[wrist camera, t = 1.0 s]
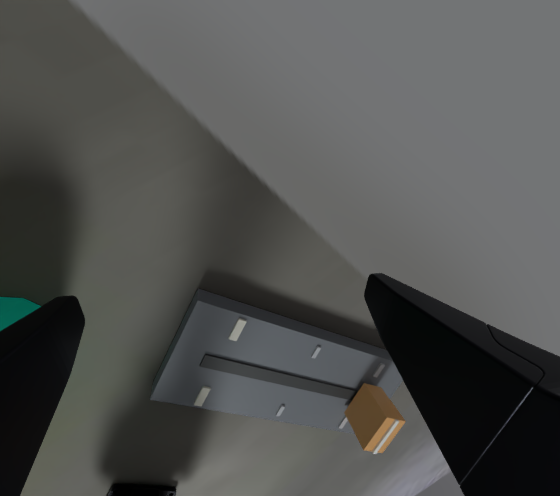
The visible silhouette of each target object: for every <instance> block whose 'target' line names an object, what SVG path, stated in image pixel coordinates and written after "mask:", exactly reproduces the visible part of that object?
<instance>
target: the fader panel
mask: <svg viewBox="0 0 560 496" xmlns="http://www.w3.org/2000/svg"><path fill="white" fill-rule="evenodd" d="M402 381H403V379H402V377H401V375H400V373H399V372H398V370H397V368H396V366H395V364H394V362H393V360H392V359H391V357H390V355H389V353H388V351H387V350H385V349H382V348H379V347H376V346H373V345H370V344H367V343H364V342H361V341H357V340H354V339H351V338H348V337H345V336H342V335H339V334H336V333H333V332H330V331H327V330H324V329H321V328H318V327H315V326H312V325H309V324H305V323H302V322H299V321H296V320H293V319H290V318H287V317H284V316H281V315H278V314H275V313H272V312H269V311H266V310H263V309H260V308H257V307H254V306H250V305H247V304H244V303H241V302H238V301H235V300H232V299H229V298H226V297H223V296H220V295H217V294H214V293H211V292H208V291H205V290H202V289H197V292H196V294H195V296H194V298H193V300H192V302H191V304H190V306H189V308H188V310H187V312H186V314H185V317H184V319H183V321H182V323H181V325H180V327H179V329H178V331H177V333H176V335H175V337H174V340H173V342H172V344H171V346H170V348H169V350H168V352H167V354H166V356H165V358H164V360H163V362H162V365H161V367H160V369H159V371H158V373H157V375H156V377H155V379H154V381H153V386H152V391H151V396H150V400H155V401H161V402H166V403H172V404H178V405H184V406H190V407H196V408H202V409H208V410H214V411H220V412H226V413H232V414H238V415H244V416H250V417H256V418H262V419H268V420H274V421H280V422H286V423H292V424H298V425H304V426H310V427H316V428H322V429H328V430H334V431H340V432H346V433H352V434H355V433H354V431H353V429H352V427H351V425H350V423H349V421H348V419H347V417H346V415H345V413H344V412H345V410H346V409H347V407H348V406H349V405H350V403H351V402H352V400H353V399H354V397H355V396H356V394H357V393H358V391H359V390H360V388H361V387H362V385H363V384H364V383H366V384H370V385H374V386H378V387H381V388H382V389H383V391H384V392H385V393H386V395H387V396H388V398H389V399H390V398H391V396H392V395H393V394H394V392H395V391H396V389H397V388H398V387H399V385H400V384H401V382H402Z"/></svg>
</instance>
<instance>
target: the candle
mask: <svg viewBox="0 0 560 496" xmlns="http://www.w3.org/2000/svg"><path fill="white" fill-rule="evenodd" d="M40 307H41V306H40V305H38V304H35V303H33V302H31V301H29V300H27V299H24V298H11V297H0V331H1V330H3V329H4V328H6V327H8V326H10V325H11V324H13V323H15V322H16V321H18V320H20V319H21V318H23V317H25V316H26V315H28V314H30V313H31V312H33V311H35V310H36V309H38V308H40Z"/></svg>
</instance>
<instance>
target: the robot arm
mask: <svg viewBox="0 0 560 496" xmlns="http://www.w3.org/2000/svg"><path fill="white" fill-rule="evenodd" d="M364 297H365V301H366V303H367V306H368V308H369V311H370V313H371V316H372V318H373V321H374V323H375V326H376V328H377V331H378V333H379V335H380V338H381V340H382V342H383V343H384V345H385V347H386V349H387V351H388V353H389V355H390V357H391V359H392V360H393V362H394V364H395V366H396V368H397V370H398V372H399V373H400V375H401V377H402V379H403V381H404V383H405V385H406V387H407V388H408V390H409V392H410V394H411V396H412V398H413V400H414V402H415V403H416V405H417V407H418V409H419V411H420V413H421V415H422V417H423V418H424V420H425V422H426V424H427V426H428V428H429V430H430V431H431V433H432V435H433V437H434V439H435V441H436V443H437V445H438V446H439V448H440V450H441V452H442V454H443V456H444V458H445V460H446V461H447V463H448V465H449V467H450V469H451V471H452V473H453V475H454V476H455V478H456V480H457V482H458V484H459V485H461V486H460V488H461V490H462V492H463V494H464V495H465V496H560V357H559V356H557V355H555V354H553V353H550V352H548V351H546V350H543V349H541V348H539V347H536V346H534V345H532V344H529V343H527V342H525V341H523V340H520V339H518V338H516V337H514V336H512V335H510V334H508V333H505V332H503V331H501V330H499V329H497V328H495V327H493V326H490V325H489V324H487V325H486V323H484V322H482V321H480V320H478V319H476V318H474V317H472V316H470V315H468V314H466V313H464V312H462V311H459V310H457V309H455V308H453V307H451V306H449V305H447V304H445V303H443V302H441V301H439V300H437V299H434V298H433V297H430V296H428V295H426V294H424V293H422V292H420V291H418V290H416V289H414V288H412V287H410V286H407V285H406V284H403V283H401V282H399V281H397V280H395V279H393V278H391V277H389V276H387V275H385V274H382V273H375V274H371V275H369V277H368V281H367V285H366V289H365V293H364ZM84 326H85V318H84V315H83V312H82V309H81V306H80V304H79V301H78V299H77V297H75V296H60V297H57V298H55V299H53V300H52V301H50V302H48V303H47V304H45V305H43V306H41V307H40V308H38V309H36V310H35V311H33V312H31V313H30V314H28V315H26V316H25V317H23V318H21V319H20V320H18V321H16V322H15V323H13V324H11V325H10V326H8V327H6V328H4V329H3V330H1V331H0V496H20V494H21V492H22V489H23V487H24V485H25V482H26V480H27V477H28V475H29V473H30V470H31V468H32V466H33V463H34V461H35V458H36V456H37V454H38V451H39V449H40V446H41V444H42V442H43V439H44V437H45V434H46V432H47V430H48V427H49V425H50V423H51V420H52V418H53V415H54V413H55V411H56V408H57V406H58V403H59V401H60V399H61V396H62V394H63V391H64V389H65V387H66V384H67V382H68V379H69V377H70V374H71V371H72V368H73V364H74V361H75V357H76V354H77V350H78V347H79V343H80V340H81V336H82V333H83V329H84ZM175 495H176V488H175V487H161V486H144V485H127V484H115V485H113V486H112V487H111V489H110V491H109V493H108V495H107V496H175Z"/></svg>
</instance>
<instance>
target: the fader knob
mask: <svg viewBox="0 0 560 496" xmlns="http://www.w3.org/2000/svg"><path fill="white" fill-rule="evenodd" d="M344 413H345V415H346V417H347V419H348V421H349V423H350V425H351V427H352V429H353V431H354V433H355V435H356V437H357V438H358V440H359V442H360V444H361V446H362V448H363V450H366V451H372V453H373V454H376V453H377V452H380V453H383V452H384V450H385V449H386V448H387V446H388V445H389V443H390V442H391V441H392V439H393V438H394V437H395V435H396V434H397V433H398V431H399V430H400V428H401V427H402V426H403V424H404V423H405V422H406V421H405V420H404V418H403V417H402V416H401V414H400V413H399V411H398V410H397V409H396V407H395V406H394V405H393V403H392V402H391V400H390V399H389V398H388V396H387V395H386V393H385V392H384V391H383V389H382V388H381V387H378V386H374V385H370V384H366V383H364V384H363V385H362V387H361V388H360V390H359V391H358V393H357V394H356V396H355V397H354V399H353V400H352V402H351V403H350V405H349V406H348V407H347V409H346V410H345V412H344Z"/></svg>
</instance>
